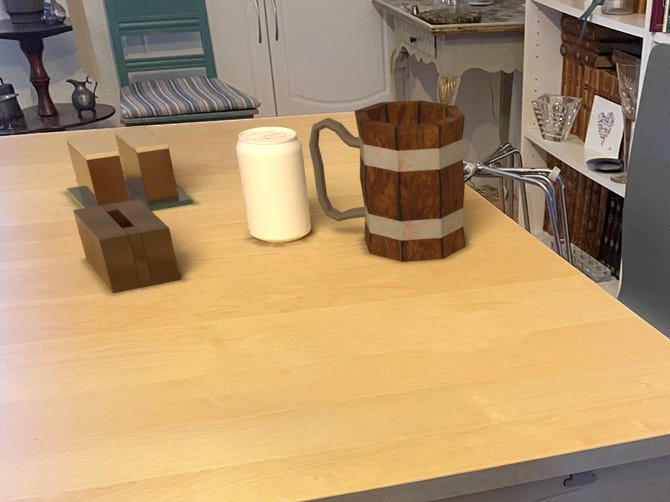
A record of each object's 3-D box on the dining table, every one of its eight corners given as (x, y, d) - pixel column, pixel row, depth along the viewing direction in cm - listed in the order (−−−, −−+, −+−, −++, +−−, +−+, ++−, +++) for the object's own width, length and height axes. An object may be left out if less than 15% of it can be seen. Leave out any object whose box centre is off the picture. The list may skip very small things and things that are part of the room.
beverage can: (237, 233, 124) (221, 133, 116) (289, 219, 128) (276, 122, 120) (271, 250, 119) (257, 147, 111) (323, 235, 124) (313, 135, 115)
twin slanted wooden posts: (67, 192, 136) (52, 134, 131) (162, 178, 142) (151, 122, 137) (92, 220, 127) (77, 159, 122) (192, 203, 133) (181, 144, 128)
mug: (475, 228, 126) (475, 103, 116) (455, 265, 116) (453, 131, 106) (334, 219, 128) (322, 95, 118) (303, 254, 118) (287, 122, 108)
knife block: (86, 260, 116) (72, 209, 112) (150, 248, 119) (139, 199, 115) (113, 293, 109) (99, 240, 105) (180, 279, 112) (169, 227, 108)
